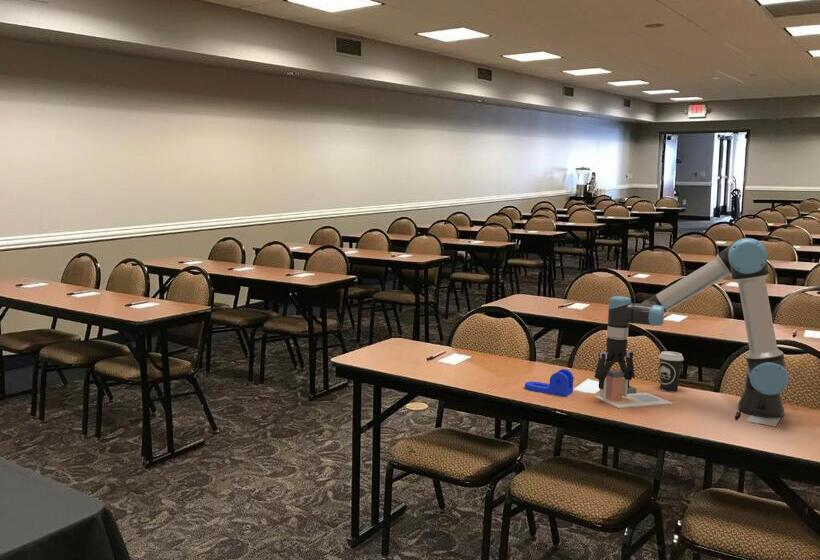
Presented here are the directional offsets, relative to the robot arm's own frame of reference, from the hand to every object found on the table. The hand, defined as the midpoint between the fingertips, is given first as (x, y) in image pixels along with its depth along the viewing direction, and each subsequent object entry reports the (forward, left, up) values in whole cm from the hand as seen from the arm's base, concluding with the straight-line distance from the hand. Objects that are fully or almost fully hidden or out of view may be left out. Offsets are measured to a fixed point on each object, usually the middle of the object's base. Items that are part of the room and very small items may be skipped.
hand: (613, 396), depth 261 cm
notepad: (-2, -8, -2) cm, 8 cm away
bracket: (+18, +17, -2) cm, 25 cm away
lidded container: (0, 0, -1) cm, 1 cm away
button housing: (+10, -12, -2) cm, 16 cm away
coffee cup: (+10, -34, -2) cm, 35 cm away
